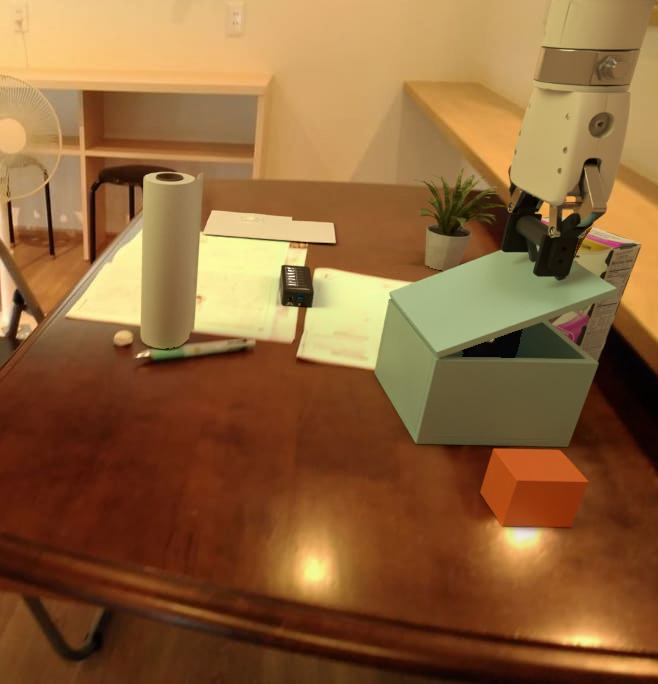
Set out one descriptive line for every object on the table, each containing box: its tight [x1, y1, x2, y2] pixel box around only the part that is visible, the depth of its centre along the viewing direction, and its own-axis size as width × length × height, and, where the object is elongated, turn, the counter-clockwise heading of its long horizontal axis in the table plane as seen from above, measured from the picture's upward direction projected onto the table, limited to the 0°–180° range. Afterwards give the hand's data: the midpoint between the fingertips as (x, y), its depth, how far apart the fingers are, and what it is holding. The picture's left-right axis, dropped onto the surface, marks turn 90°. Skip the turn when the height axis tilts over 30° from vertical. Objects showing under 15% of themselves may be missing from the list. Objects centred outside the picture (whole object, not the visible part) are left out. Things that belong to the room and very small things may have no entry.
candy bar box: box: [541, 216, 643, 363], centre depth 85 cm, size 11×5×16 cm, turn 22°
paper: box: [202, 209, 337, 244], centre depth 133 cm, size 25×17×1 cm
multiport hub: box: [279, 264, 315, 308], centre depth 104 cm, size 4×11×2 cm, turn 171°
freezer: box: [373, 298, 599, 448], centre depth 74 cm, size 16×15×10 cm
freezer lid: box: [388, 215, 618, 358], centre depth 69 cm, size 16×15×6 cm
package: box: [479, 447, 589, 528], centre depth 60 cm, size 6×4×5 cm
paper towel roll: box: [139, 171, 205, 350], centre depth 85 cm, size 7×6×21 cm
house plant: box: [414, 168, 508, 272], centre depth 112 cm, size 14×14×16 cm
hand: (532, 261), depth 69 cm, fingers closed on freezer lid, 6 cm apart
